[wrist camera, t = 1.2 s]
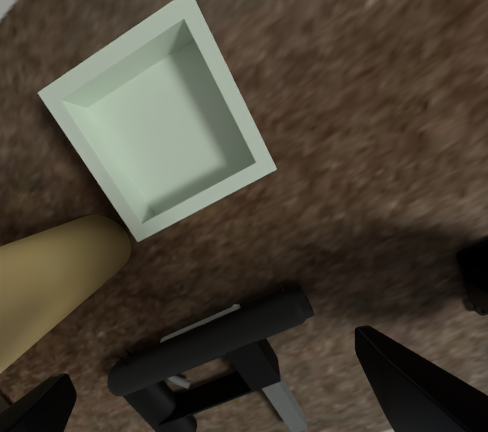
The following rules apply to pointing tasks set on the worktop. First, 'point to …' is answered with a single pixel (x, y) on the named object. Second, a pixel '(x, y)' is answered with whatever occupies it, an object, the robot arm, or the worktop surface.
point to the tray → (160, 120)
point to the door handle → (209, 348)
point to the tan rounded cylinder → (54, 277)
